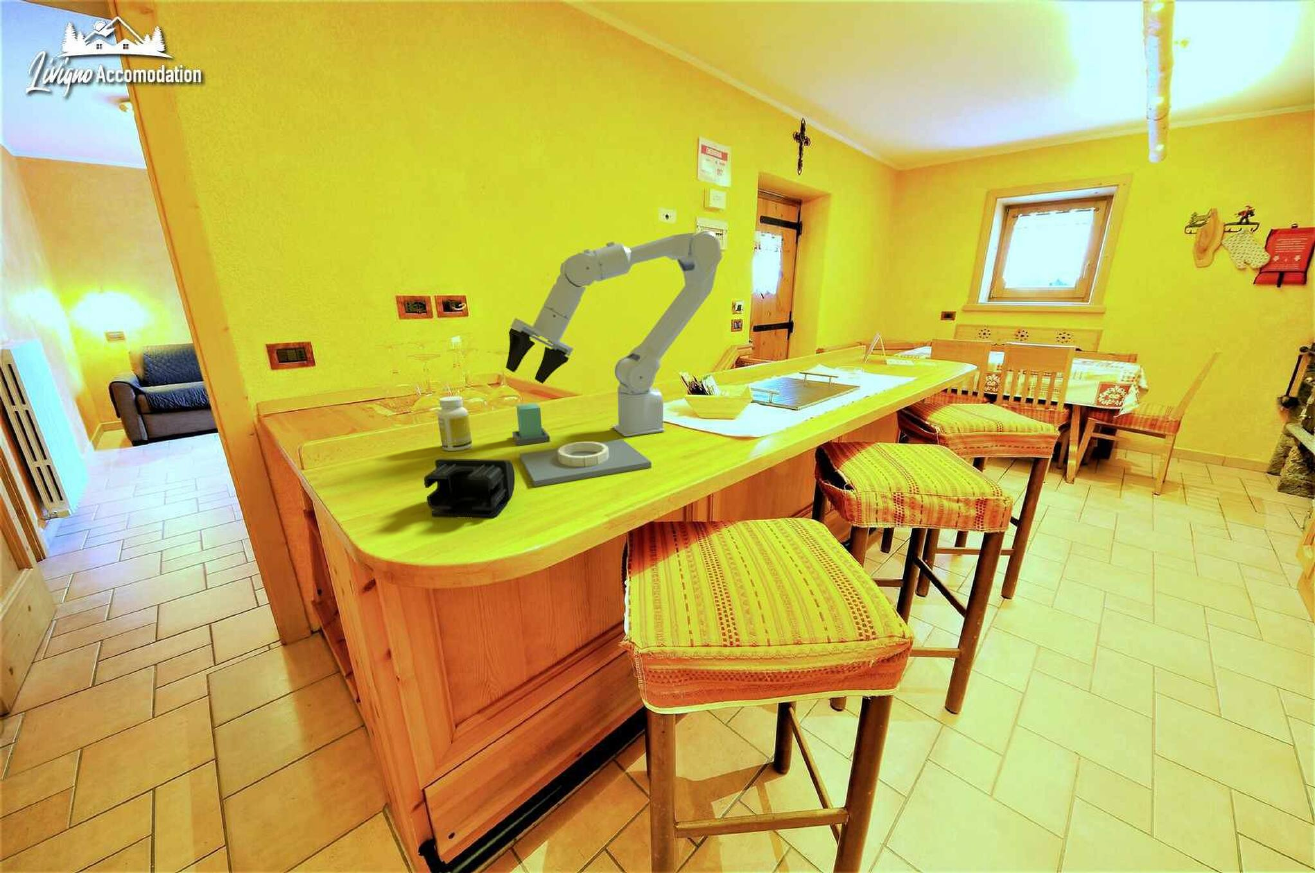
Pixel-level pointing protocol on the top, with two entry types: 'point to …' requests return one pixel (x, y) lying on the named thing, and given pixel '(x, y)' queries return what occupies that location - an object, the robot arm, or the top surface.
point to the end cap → (470, 487)
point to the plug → (529, 421)
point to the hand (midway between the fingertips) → (524, 375)
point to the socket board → (564, 473)
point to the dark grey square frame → (531, 440)
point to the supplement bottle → (454, 424)
